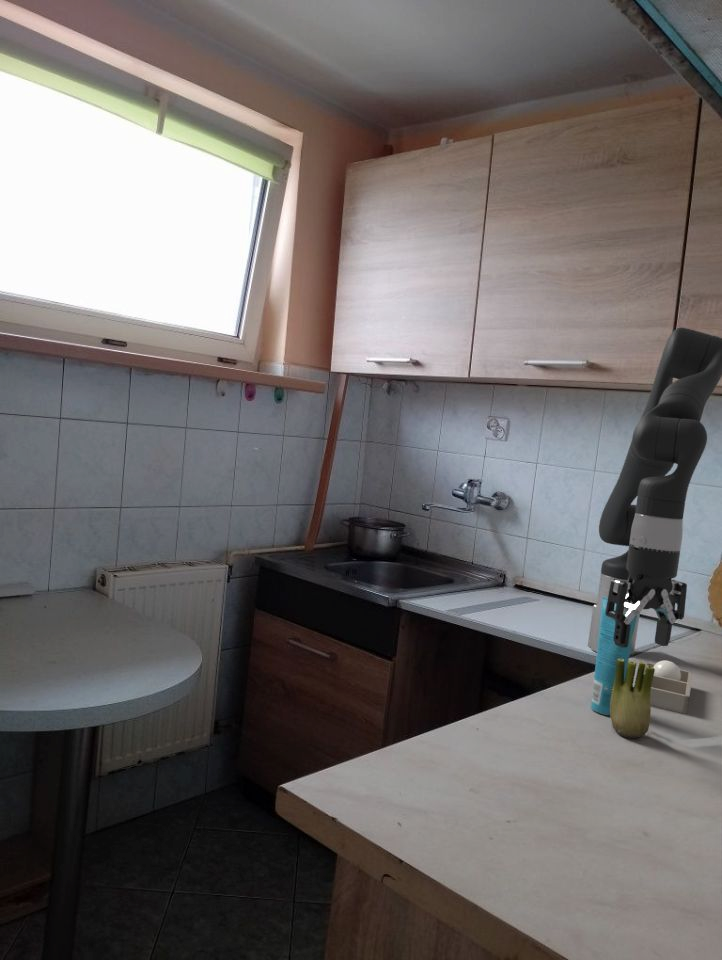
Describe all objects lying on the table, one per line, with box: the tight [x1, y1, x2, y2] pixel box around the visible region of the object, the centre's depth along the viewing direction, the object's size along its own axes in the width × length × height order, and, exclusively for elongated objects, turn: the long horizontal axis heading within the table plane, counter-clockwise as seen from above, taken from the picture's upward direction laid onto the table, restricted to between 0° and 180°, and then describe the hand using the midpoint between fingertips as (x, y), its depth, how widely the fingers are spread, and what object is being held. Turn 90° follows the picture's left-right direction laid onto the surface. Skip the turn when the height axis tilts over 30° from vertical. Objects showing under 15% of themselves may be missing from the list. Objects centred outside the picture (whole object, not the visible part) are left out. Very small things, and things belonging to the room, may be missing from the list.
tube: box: [590, 597, 638, 716], centre depth 130 cm, size 7×5×19 cm, turn 39°
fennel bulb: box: [609, 659, 655, 739], centre depth 121 cm, size 6×5×12 cm
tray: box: [643, 661, 693, 715], centre depth 140 cm, size 17×9×4 cm, turn 154°
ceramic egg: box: [653, 660, 681, 681], centre depth 144 cm, size 5×5×5 cm
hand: (641, 645), depth 120 cm, fingers open, 8 cm apart
